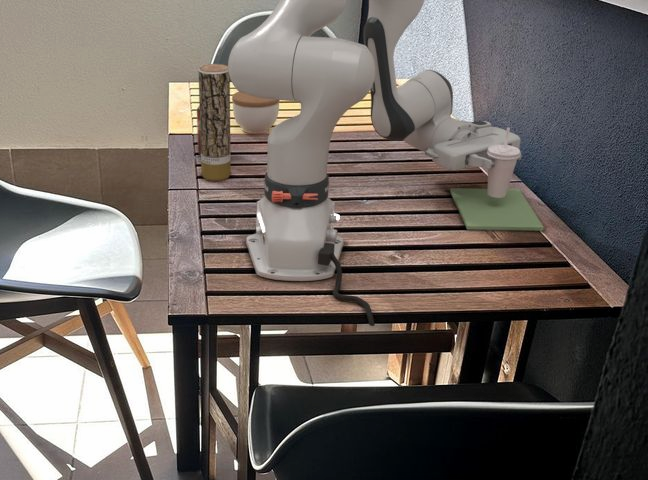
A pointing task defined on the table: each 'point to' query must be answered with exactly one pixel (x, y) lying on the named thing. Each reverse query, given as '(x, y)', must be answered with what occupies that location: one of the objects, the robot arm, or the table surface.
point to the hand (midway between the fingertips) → (505, 161)
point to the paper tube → (215, 121)
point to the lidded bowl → (254, 112)
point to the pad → (495, 210)
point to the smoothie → (501, 167)
